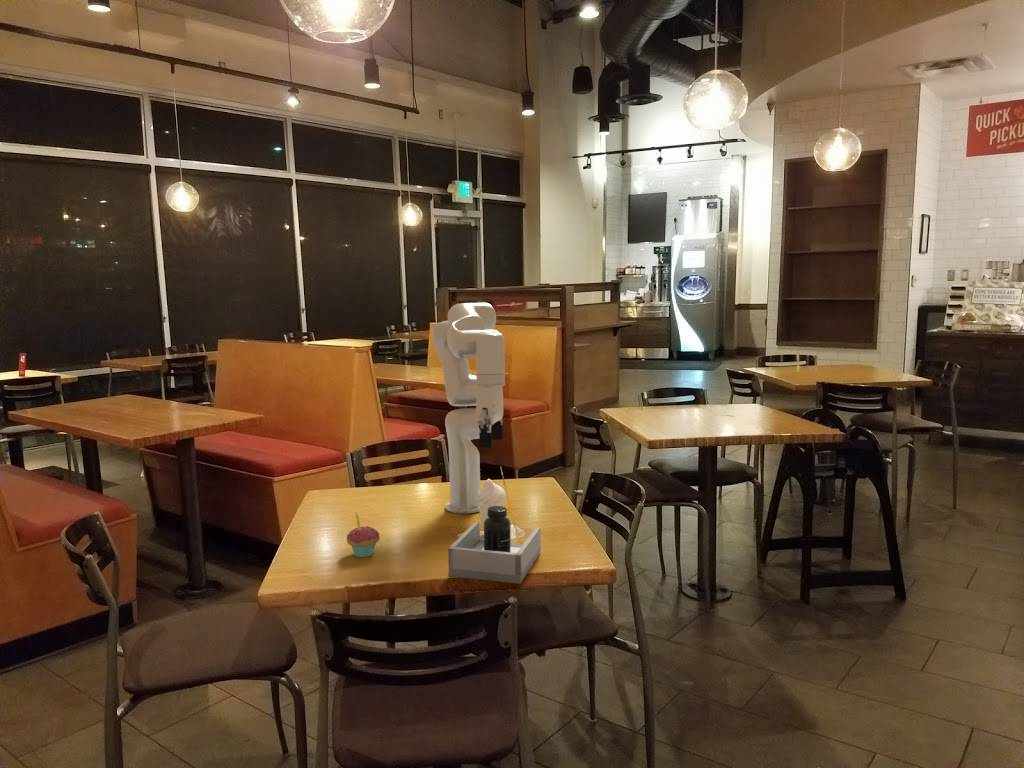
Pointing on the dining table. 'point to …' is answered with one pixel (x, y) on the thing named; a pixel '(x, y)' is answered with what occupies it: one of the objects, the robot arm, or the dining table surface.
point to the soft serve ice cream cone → (489, 498)
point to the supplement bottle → (497, 530)
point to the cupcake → (363, 540)
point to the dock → (492, 558)
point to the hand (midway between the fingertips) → (491, 443)
